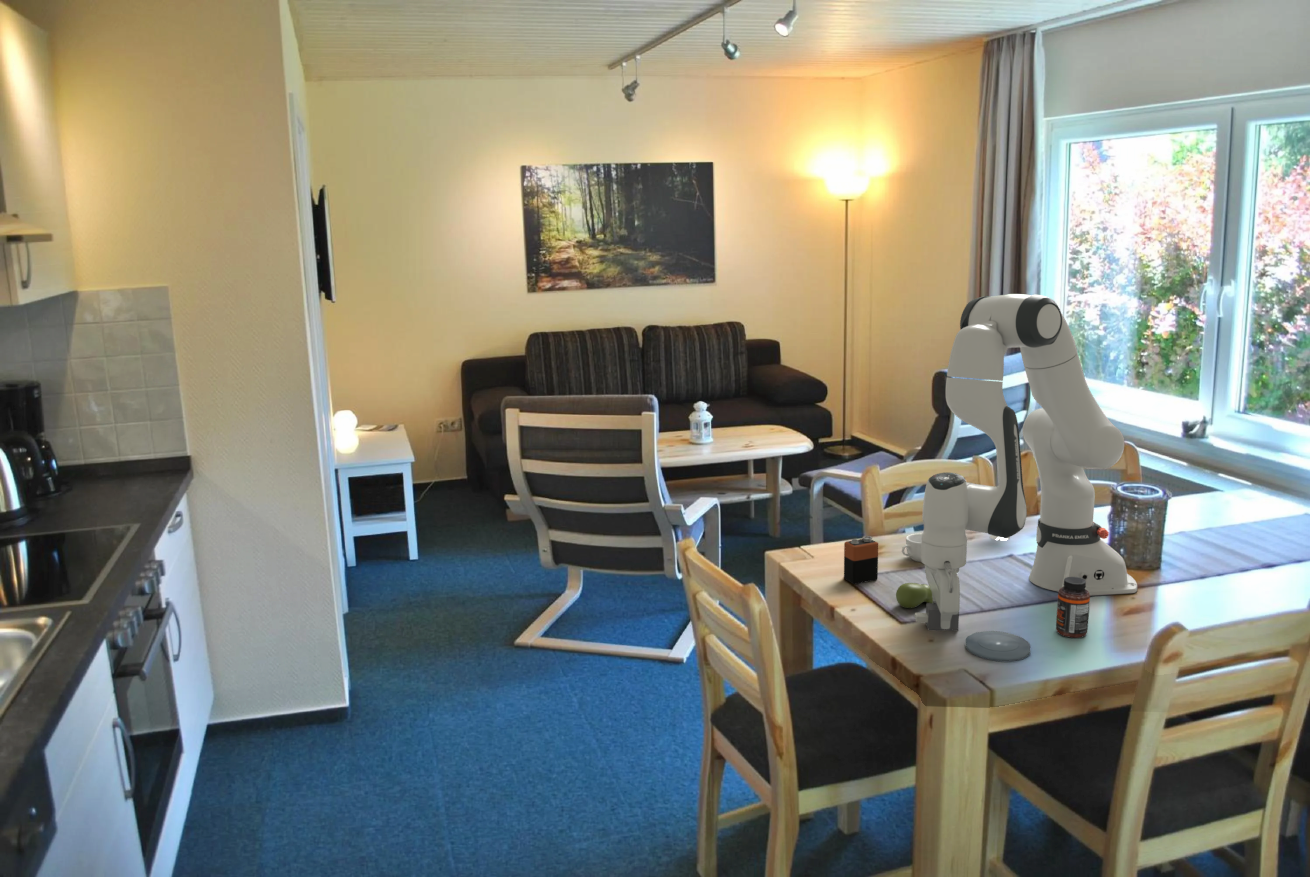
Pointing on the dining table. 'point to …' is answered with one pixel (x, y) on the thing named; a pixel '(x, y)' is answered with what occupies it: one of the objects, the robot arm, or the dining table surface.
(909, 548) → the teacup
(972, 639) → the plate
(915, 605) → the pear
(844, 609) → the dining table surface
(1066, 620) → the supplement bottle
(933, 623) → the block
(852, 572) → the battery
